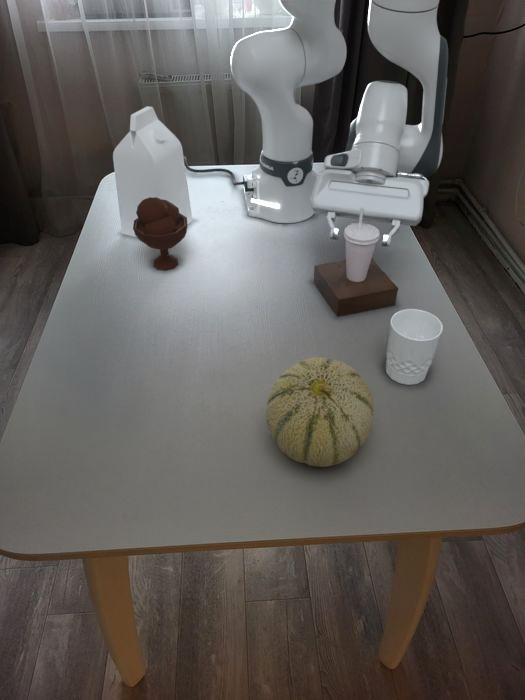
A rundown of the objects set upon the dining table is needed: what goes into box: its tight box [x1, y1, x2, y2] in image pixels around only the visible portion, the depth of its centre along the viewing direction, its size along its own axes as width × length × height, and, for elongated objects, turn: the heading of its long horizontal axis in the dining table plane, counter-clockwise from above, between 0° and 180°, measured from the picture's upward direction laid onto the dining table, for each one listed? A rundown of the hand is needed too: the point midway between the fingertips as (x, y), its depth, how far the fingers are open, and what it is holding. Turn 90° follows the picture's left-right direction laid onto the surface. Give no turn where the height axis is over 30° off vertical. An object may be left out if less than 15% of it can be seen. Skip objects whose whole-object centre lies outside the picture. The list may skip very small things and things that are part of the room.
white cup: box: [385, 308, 444, 386], centre depth 89 cm, size 8×8×10 cm
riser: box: [313, 258, 399, 318], centre depth 108 cm, size 12×12×4 cm
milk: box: [112, 105, 194, 238], centre depth 120 cm, size 12×12×26 cm
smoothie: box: [343, 208, 381, 282], centre depth 102 cm, size 6×6×14 cm
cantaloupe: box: [265, 356, 375, 468], centre depth 75 cm, size 15×15×15 cm
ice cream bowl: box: [133, 197, 188, 271], centre depth 112 cm, size 11×11×15 cm
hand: (359, 242), depth 101 cm, fingers open, 8 cm apart
